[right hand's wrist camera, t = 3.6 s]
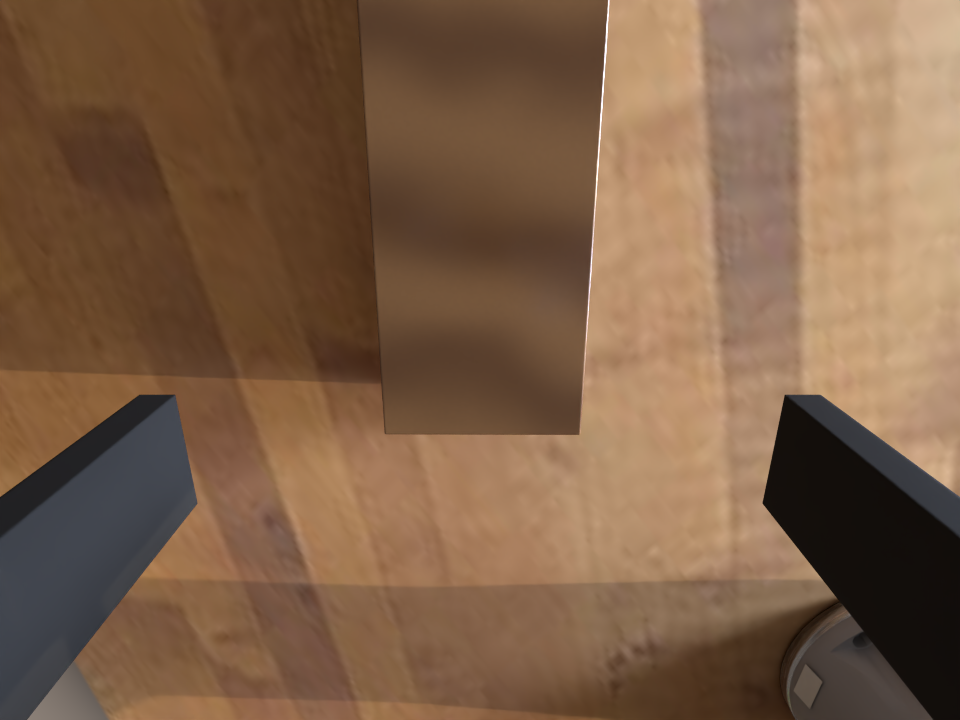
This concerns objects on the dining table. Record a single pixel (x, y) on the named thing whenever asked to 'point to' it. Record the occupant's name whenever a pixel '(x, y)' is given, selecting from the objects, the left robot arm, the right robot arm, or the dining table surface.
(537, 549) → the dining table surface
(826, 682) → the right robot arm
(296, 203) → the dining table surface
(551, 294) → the wide beam
